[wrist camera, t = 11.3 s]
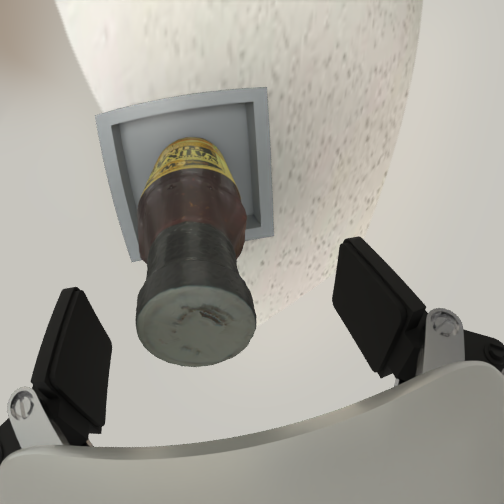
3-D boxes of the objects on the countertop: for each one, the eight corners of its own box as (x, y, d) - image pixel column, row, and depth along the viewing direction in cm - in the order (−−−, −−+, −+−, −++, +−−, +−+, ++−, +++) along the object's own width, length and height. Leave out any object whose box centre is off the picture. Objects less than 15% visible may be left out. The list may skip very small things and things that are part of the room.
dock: (254, 88, 23) (266, 87, 20) (263, 218, 31) (273, 235, 28) (107, 112, 21) (95, 115, 18) (136, 241, 29) (131, 262, 25)
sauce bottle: (209, 124, 23) (285, 202, 7) (231, 183, 27) (319, 344, 10) (143, 152, 23) (68, 294, 7) (169, 209, 27) (169, 397, 10)
